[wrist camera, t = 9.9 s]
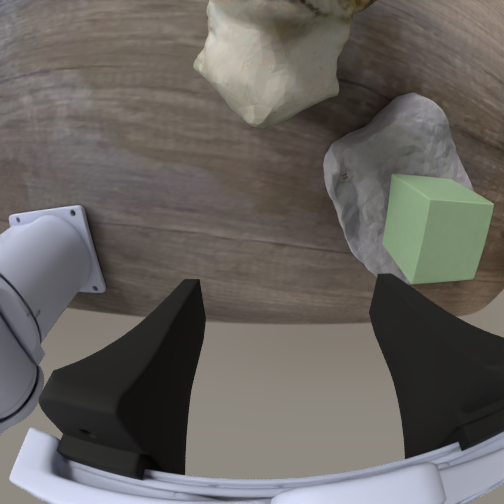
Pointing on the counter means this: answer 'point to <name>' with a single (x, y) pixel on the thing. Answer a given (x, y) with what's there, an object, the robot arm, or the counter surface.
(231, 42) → the ceramic sculpture
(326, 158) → the stone block
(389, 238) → the sage block
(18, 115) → the counter surface
